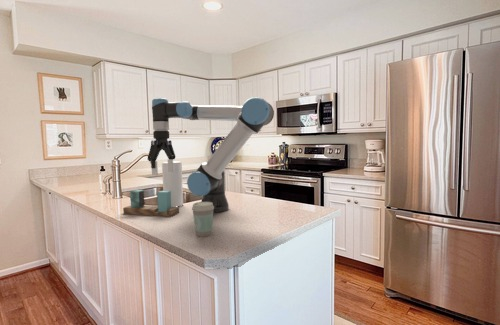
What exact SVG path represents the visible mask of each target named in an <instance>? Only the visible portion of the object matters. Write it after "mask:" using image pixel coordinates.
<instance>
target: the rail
mask: <svg viewBox="0 0 500 325" xmlns="http://www.w3.org/2000/svg"><path fill="white" fill-rule="evenodd" d="M129 196H130V205H128V206H125V207H123V208H122V209H123V210H122V211H123V212H122V213H123V214H124V215H138V214H140V215H139V216H142V215H143V216H155V215H163V216H162V217H171V216H172V217H174V216H175V214H176V215H178V214H179V213H180V207H173V208H171V209H168V210H167V212H158V205H145V192H144V189H134V190H133V189H132V190H130V191H129ZM177 213H178V214H177ZM173 215H174V216H173Z"/></svg>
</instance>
